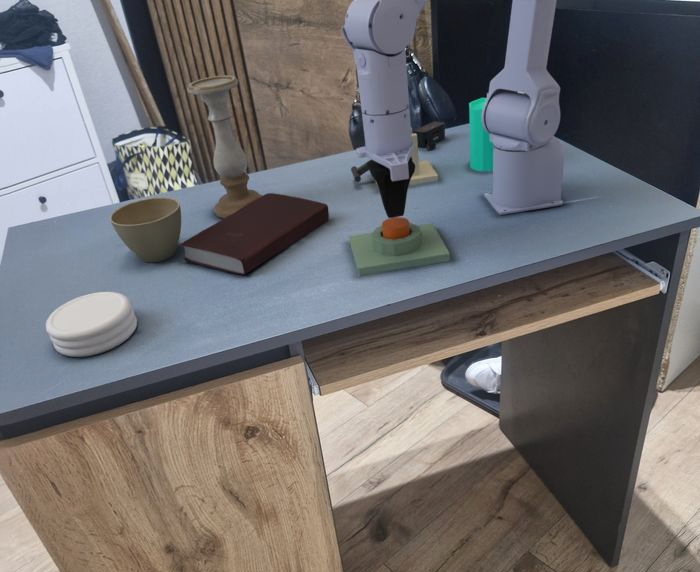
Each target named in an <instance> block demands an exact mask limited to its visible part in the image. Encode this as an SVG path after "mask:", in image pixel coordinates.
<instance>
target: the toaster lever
mask: <svg viewBox="0 0 700 572" xmlns="http://www.w3.org/2000/svg"><path fill="white" fill-rule="evenodd" d="M370 160H372V159H370ZM350 171H351V174H352V177H353V181H354V182H355V183H359V182H361V181H362V177H361V176H362V175H364V174H365V173H367V172H369V168H368V166H367V162H365V163H364V164H362V165H360V166H359V167H357V166H356V165H355V166H352V167H351V168H350Z"/></svg>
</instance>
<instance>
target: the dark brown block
mask: <svg viewBox="0 0 700 572" xmlns="http://www.w3.org/2000/svg"><path fill="white" fill-rule="evenodd" d="M445 125H446V124H445V122H444V121H443V122H441V121H432V122H430V123H428V124H426V125H423V126H421V127H419V128H416V129H414V131H413V132H414V134H415V133H416V134H417V142H418V148H420V149H426V150H427V151H431V150H433V149H435V148H436V147H437V144H438V143H440V142H442V141H444V140H445V139H446V126H445Z"/></svg>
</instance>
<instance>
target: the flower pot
mask: <svg viewBox="0 0 700 572" xmlns="http://www.w3.org/2000/svg"><path fill="white" fill-rule="evenodd" d="M180 203H181V202H180V201H179V200H177V199H176V198H173V197H168V196H156V197H149V198H143V199H138V200H135V201H132V202H129V203H126V204H124V205H122V206H120V207H118V208H116V209H115V210H114V211H113V212H111V214H110V215H109V222H110V223H111V225H112V227H113V229H114V231H115V232H116V234H117V236H118V237H119V238H120V240H121V241H122V242H123V243H124V245H125V247H127V248H128V250H130V251H131V253H133V254H134V255H135V256H136V257H137V258H139V259H140V260H141V261H143V262H146V263H158V262H163V261H166V260H168V259H170V258H172V257H174V255H175V254H176V251H177V249H178V245H179V242H180V237H181V231H182V208H181V204H180Z"/></svg>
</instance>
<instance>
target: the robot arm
mask: <svg viewBox="0 0 700 572" xmlns="http://www.w3.org/2000/svg"><path fill="white" fill-rule="evenodd" d="M429 1H430V0H353V1H351V3H350V4H349V6H348V8H347V11H346V13H345V18H344V25H342V26H341V28H340V29H341V34H342V37H343V39H344V41H345V43H346V44H347V45H348V47H350V49H351V51H352V54H353V61H354V62H353V63H355V65H356V66H355V67H356V73H357V83H358V91H359V100H360V101H359V102H360V110H361V118H362V127H363V136H364V146H361V147H360V146H359V147H357V148H356V149H355V150H356V152H355V153H356V156H357V158H359V159H363V158H368V159H370V160H368V161H366V163H367V166H368V168H369V170H368V172H369V173H370V175H371V176H372V178H373V180H374V179H375V180H374V182H375V181H376V182H375V184H376V183H377V185H378V187H377V189H378V188H379V189H378V191H379V195H380V199H381V202H382V206H383V209H384V211H385V214H386V216H387V219H389V218H394V217H404V215H405V210H406V204H407V196H408V189H409V186H410V185H409V183H410V180H411V178H412V175H413V173H414V171H415V164H414V162H413V161H412V157H411V155H412V152H413V150H414V143H413V141H412V136H411V127H412V122H411V110H410V107H411V106H410V95H409V81H408V79H409V78H408V69H407V68H408V66H407V53H406V52H407V51H406V48H407V47H408V46H409V45H410V44H411V43H412V42H413V39H414V36H415V32H416V28H417V27H416V24H417V21H418V18H419V17H420V13H421V11H422V10H423V9H424V7H425V6H426V5H427V3H428V2H429ZM557 2H558V1H557V0H512V2H511V9H510V11H511V12H510V18H509V19H510V20H509V26H508V27H509V28H508V36H507V44H506V52H505V61H504V68H503V69H502V70H501V71H500V72H498V73H497V74H496V75H495V76H494V77H493V78H492V79H491V80H490V82H489V87H488V92H487V93H488V96H487V95H486V98H487V99H486V101H485V103H484V105H483V108H482V114H481V121H482V125H483V128H484V130H485V131H486V132H487V133H489V134H490V142H493V171H492V191H490V192H485V193H484V195H483V196H484V198H485V200H486V201H488V203H489V204H490V205H491V207H492V208H493V209H494V210H495V212H496V213H497V214H498V215H500V216H501V215H502V216H503V215H508V214H509V215H510V214H515V213H522V212H528V211H535V210H541V209H547V208H553V207H559V206H563V204H564V201H563V200H562V195H563V194H562V191H563V176H564V165H565V164H564V163H565V162H564V157H565V156H564V150H563V146H562V143H561V142H560V140H559V138H557V137H555V135H556V133H557V131H558V129H559V125H560V122H561V108H560V107H561V106H560V94H561V87H560V85H559V84H558V82H557V81H556V80H555V79H554V77H553V76H552V75H551V74H550V72H549V71H548V69H547V65H548V61H549V60H548V59H549V52H550V46H551V39H552V32H553V27H554V20H555V13H556V7H557ZM371 159H372V160H371ZM377 185H376V186H377Z"/></svg>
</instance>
